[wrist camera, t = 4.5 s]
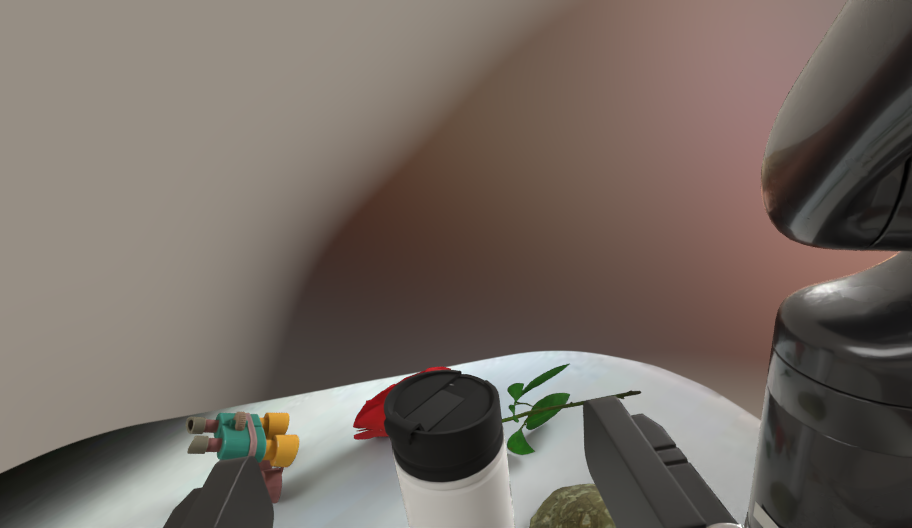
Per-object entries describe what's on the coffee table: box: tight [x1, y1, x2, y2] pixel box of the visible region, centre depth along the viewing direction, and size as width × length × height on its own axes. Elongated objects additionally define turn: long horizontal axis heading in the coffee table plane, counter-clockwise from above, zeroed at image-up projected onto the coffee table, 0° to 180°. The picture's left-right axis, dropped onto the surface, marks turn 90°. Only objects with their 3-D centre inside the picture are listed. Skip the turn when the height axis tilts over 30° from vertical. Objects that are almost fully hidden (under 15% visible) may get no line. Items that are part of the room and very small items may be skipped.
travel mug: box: [384, 369, 515, 528], centre depth 27 cm, size 6×7×20 cm
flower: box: [353, 364, 641, 455], centre depth 46 cm, size 9×10×30 cm
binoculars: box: [186, 412, 299, 503], centre depth 42 cm, size 9×9×10 cm
